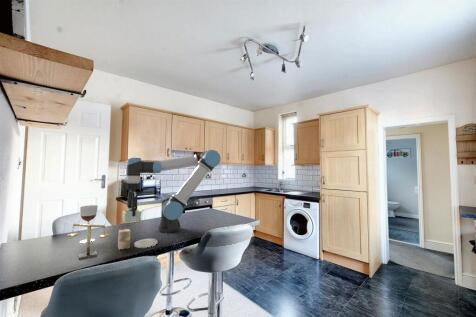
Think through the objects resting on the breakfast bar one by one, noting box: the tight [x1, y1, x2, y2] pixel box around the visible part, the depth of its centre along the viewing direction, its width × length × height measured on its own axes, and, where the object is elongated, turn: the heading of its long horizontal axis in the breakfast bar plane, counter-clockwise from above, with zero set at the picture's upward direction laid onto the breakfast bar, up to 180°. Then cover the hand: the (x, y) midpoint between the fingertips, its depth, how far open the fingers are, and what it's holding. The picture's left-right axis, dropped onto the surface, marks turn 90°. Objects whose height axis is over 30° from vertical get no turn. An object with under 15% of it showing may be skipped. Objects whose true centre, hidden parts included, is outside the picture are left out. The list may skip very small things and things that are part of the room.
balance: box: [66, 223, 110, 260], centre depth 103 cm, size 17×5×16 cm, turn 128°
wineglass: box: [79, 204, 99, 244], centre depth 125 cm, size 8×9×20 cm
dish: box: [134, 238, 159, 249], centre depth 120 cm, size 12×12×1 cm
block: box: [117, 228, 131, 251], centre depth 115 cm, size 5×5×9 cm
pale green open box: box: [121, 209, 142, 224], centre depth 129 cm, size 8×8×6 cm
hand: (131, 220), depth 128 cm, fingers closed on pale green open box, 8 cm apart
